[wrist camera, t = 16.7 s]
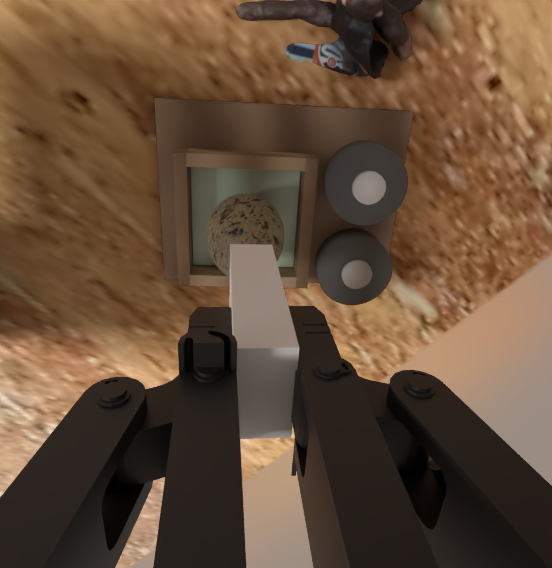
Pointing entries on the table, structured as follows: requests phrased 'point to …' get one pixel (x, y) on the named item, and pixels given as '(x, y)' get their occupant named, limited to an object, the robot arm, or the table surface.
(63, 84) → the table surface
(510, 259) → the table surface
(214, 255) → the decorative egg
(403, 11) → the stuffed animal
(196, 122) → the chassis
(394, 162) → the wheel
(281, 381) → the robot arm
